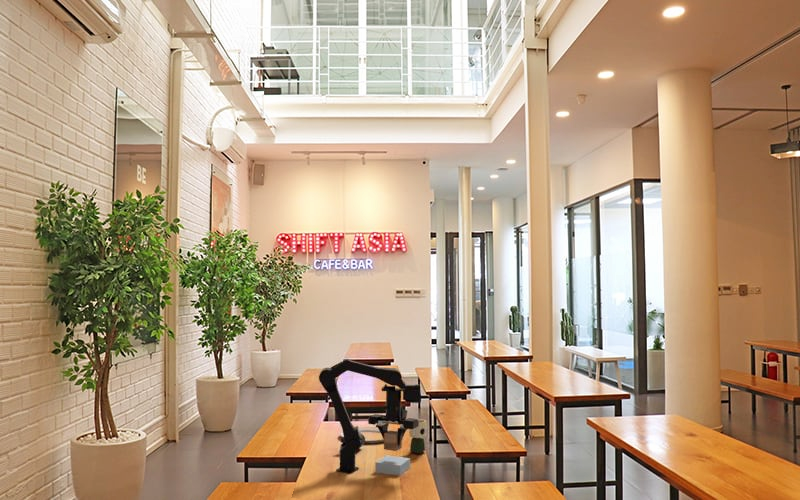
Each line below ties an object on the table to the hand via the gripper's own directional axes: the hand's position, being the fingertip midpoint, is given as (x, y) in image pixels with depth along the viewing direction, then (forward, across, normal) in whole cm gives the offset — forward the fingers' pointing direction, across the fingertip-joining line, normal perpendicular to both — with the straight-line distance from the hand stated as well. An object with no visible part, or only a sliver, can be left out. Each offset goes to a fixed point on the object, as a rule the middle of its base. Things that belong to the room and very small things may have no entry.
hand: (392, 444), depth 234 cm
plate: (+10, +31, -39) cm, 51 cm away
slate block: (+10, 0, 0) cm, 10 cm away
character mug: (+10, +1, -26) cm, 28 cm away
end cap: (+10, +26, -16) cm, 32 cm away
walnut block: (+2, 0, 0) cm, 2 cm away
